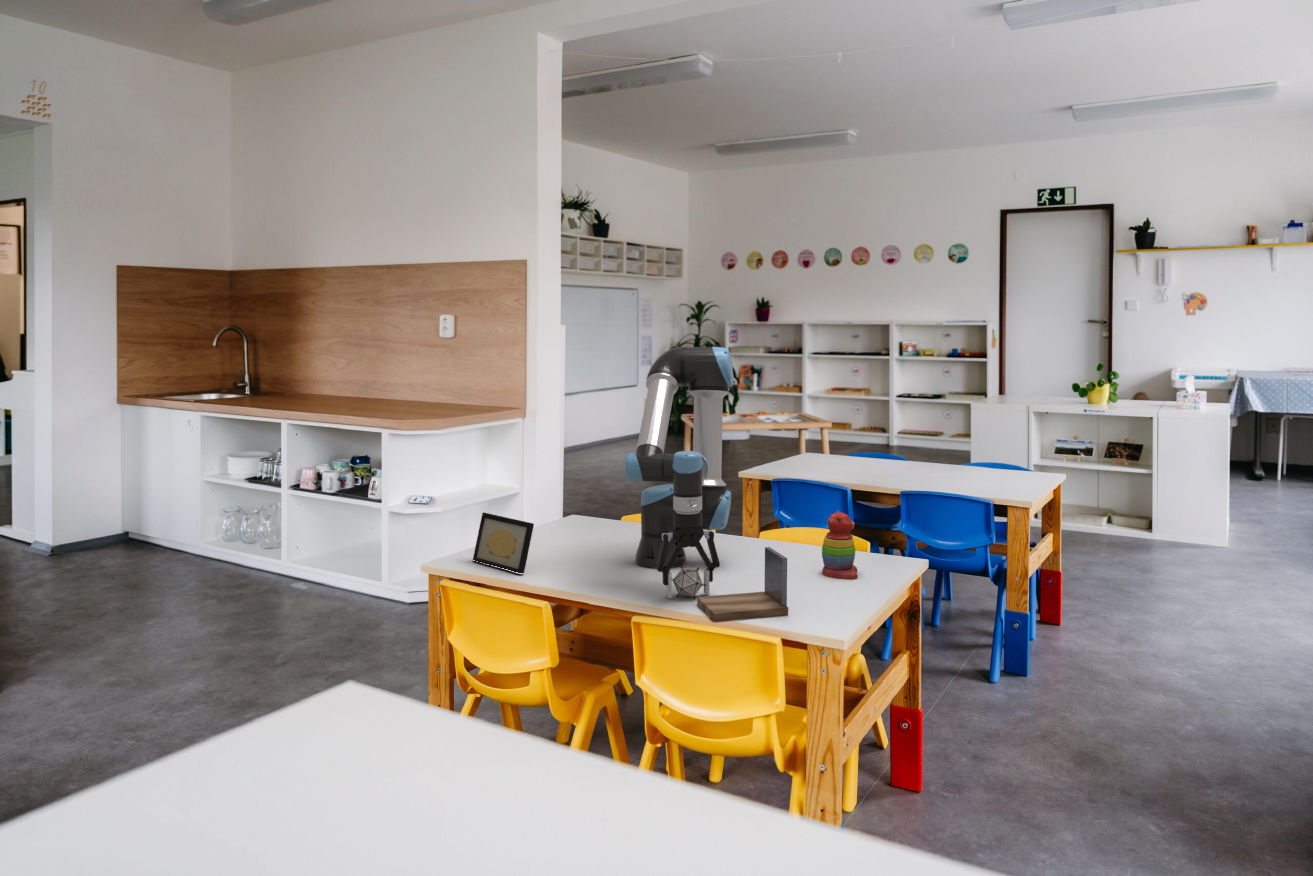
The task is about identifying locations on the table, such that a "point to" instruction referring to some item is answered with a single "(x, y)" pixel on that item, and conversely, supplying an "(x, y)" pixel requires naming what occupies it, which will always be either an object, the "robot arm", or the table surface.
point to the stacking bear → (839, 548)
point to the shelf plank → (740, 606)
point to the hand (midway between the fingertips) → (687, 595)
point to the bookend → (776, 576)
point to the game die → (687, 582)
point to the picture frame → (503, 542)
